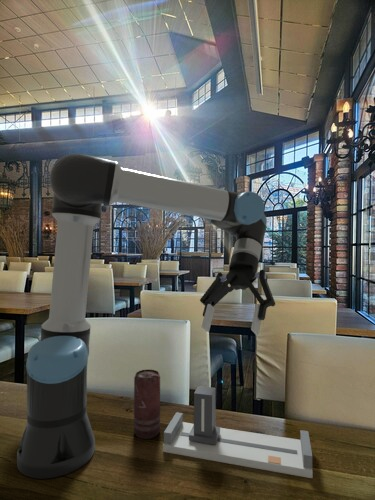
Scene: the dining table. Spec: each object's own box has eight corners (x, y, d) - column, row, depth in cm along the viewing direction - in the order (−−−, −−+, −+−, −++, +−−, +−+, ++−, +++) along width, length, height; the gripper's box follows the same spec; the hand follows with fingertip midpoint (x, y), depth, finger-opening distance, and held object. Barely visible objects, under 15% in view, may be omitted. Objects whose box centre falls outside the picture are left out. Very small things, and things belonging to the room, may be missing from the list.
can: (156, 441, 74) (157, 379, 74) (130, 437, 75) (130, 376, 75) (164, 427, 80) (164, 369, 80) (139, 424, 81) (139, 367, 81)
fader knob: (188, 440, 71) (189, 393, 71) (194, 428, 76) (194, 384, 76) (216, 445, 70) (216, 397, 70) (220, 432, 75) (220, 387, 75)
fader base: (163, 451, 70) (163, 433, 70) (176, 427, 80) (177, 411, 80) (312, 478, 62) (312, 457, 62) (307, 447, 72) (308, 430, 72)
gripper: (294, 262, 86) (284, 340, 75) (213, 268, 100) (194, 334, 89) (285, 245, 81) (272, 325, 70) (201, 254, 96) (179, 322, 85)
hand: (228, 330), depth 80 cm, fingers open, 13 cm apart
